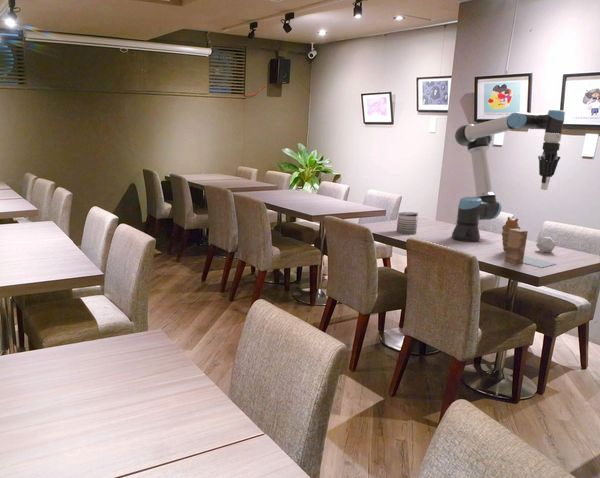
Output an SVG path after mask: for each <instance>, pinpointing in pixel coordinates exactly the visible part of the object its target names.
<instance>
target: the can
mask: <svg viewBox="0 0 600 478" xmlns="http://www.w3.org/2000/svg"><path fill="white" fill-rule="evenodd" d="M418 214H419V212H413V211H404V212H398V213H397V222H396V223H397V224H396V233H398V234H401V235H405V236H407V235H408V236H411V235H413V236H414V235H416V234H417V228H418V221H419V220H418V218H419V215H418Z"/></svg>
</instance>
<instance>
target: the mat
mask: <svg viewBox="0 0 600 478" xmlns="http://www.w3.org/2000/svg"><path fill="white" fill-rule="evenodd" d="M523 264H524V265H529V266H533V267H536V266H537V268H541V269H544V268H547V267H550V266H555V265H557V263H556V262H551V261H547V260H543V259H540V258H539V259H538V258H535V257H530V256H527V255H524V259H523ZM543 267H544V268H543Z"/></svg>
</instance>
